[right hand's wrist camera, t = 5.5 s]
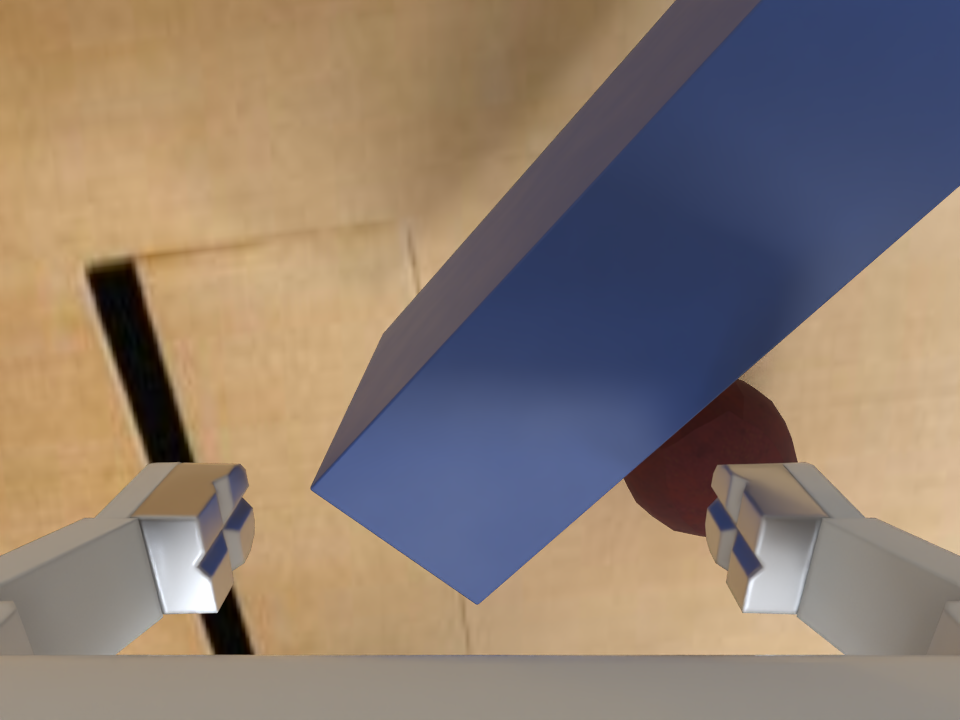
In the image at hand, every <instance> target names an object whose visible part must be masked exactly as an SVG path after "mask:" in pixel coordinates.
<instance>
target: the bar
mask: <svg viewBox="0 0 960 720" xmlns="http://www.w3.org/2000/svg"><path fill="white" fill-rule="evenodd" d="M959 186H960V0H676V1H675V2H674V3H673V4H672V5H671V7H670V8H669V9H668V10H667V11H666V12H665V13H664V14H663V16H662V17H661V18H660V19H659V20H658V21H657V22H656V24H655V25H654V26H653V27H652V28H651V29H650V30H649V32H648V33H647V34H646V35H645V36H644V37H643V38H642V40H641V41H640V42H639V43H638V44H637V45H636V46H635V48H634V49H633V50H632V51H631V52H630V53H629V54H628V56H627V57H626V58H625V59H624V60H623V61H622V62H621V63H620V65H619V66H618V67H617V68H616V69H615V70H614V71H613V73H612V74H611V75H610V76H609V77H608V78H607V79H606V81H605V82H604V83H603V84H602V85H601V86H600V87H599V89H598V90H597V91H596V92H595V93H594V94H593V95H592V97H591V98H590V99H589V100H588V101H587V102H586V103H585V104H584V106H583V107H582V108H581V109H580V110H579V111H578V112H577V114H576V115H575V116H574V117H573V118H572V119H571V120H570V122H569V123H568V124H567V125H566V126H565V127H564V128H563V130H562V131H561V132H560V133H559V134H558V135H557V136H556V138H555V139H554V140H553V141H552V142H551V143H550V144H549V145H548V147H547V148H546V149H545V150H544V151H543V152H542V153H541V155H540V156H539V157H538V158H537V159H536V160H535V161H534V163H533V164H532V165H531V166H530V167H529V168H528V169H527V171H526V172H525V173H524V174H523V175H522V176H521V177H520V179H519V180H518V181H517V182H516V183H515V184H514V185H513V186H512V188H511V189H510V190H509V191H508V192H507V193H506V194H505V196H504V197H503V198H502V199H501V200H500V201H499V202H498V204H497V205H496V206H495V207H494V208H493V209H492V210H491V212H490V213H489V214H488V215H487V216H486V217H485V218H484V220H483V221H482V222H481V223H480V224H479V225H478V226H477V227H476V229H475V230H474V231H473V232H472V233H471V234H470V235H469V237H468V238H467V239H466V240H465V241H464V242H463V243H462V245H461V246H460V247H459V248H458V249H457V250H456V251H455V253H454V254H453V255H452V256H451V257H450V258H449V259H448V261H447V262H446V263H445V264H444V265H443V266H442V267H441V269H440V270H439V271H438V272H437V273H436V274H435V275H434V276H433V278H432V279H431V280H430V281H429V282H428V283H427V284H426V286H425V287H424V288H423V289H422V290H421V291H420V292H419V294H418V295H417V296H416V297H415V298H414V299H413V300H412V302H411V303H410V304H409V305H408V306H407V307H406V308H405V310H404V311H403V312H402V313H401V314H400V315H399V316H398V317H397V319H396V320H395V321H394V322H393V323H392V324H391V325H390V327H389V328H388V329H387V330H386V331H385V332H384V333H383V335H382V337H381V339H380V341H379V344H378V346H377V348H376V350H375V352H374V354H373V356H372V358H371V360H370V363H369V365H368V367H367V369H366V371H365V373H364V375H363V377H362V379H361V382H360V384H359V386H358V388H357V390H356V392H355V394H354V396H353V399H352V401H351V403H350V405H349V407H348V409H347V411H346V413H345V415H344V418H343V420H342V422H341V424H340V426H339V428H338V430H337V432H336V434H335V437H334V439H333V441H332V443H331V445H330V447H329V449H328V451H327V454H326V456H325V458H324V460H323V462H322V464H321V466H320V468H319V470H318V473H317V475H316V477H315V479H314V481H313V483H312V485H311V488H310V489H311V490H312V491H313V492H315V493H316V494H317V495H319V496H320V497H322V498H323V499H325V500H326V501H328V502H329V503H330V504H332V505H333V506H335V507H336V508H338V509H339V510H341V511H342V512H343V513H345V514H346V515H348V516H349V517H351V518H352V519H354V520H355V521H356V522H358V523H359V524H361V525H362V526H364V527H365V528H367V529H368V530H369V531H371V532H372V533H374V534H375V535H377V536H378V537H380V538H381V539H383V540H384V541H385V542H387V543H388V544H390V545H391V546H393V547H394V548H396V549H397V550H398V551H400V552H401V553H403V554H404V555H406V556H407V557H409V558H410V559H411V560H413V561H414V562H416V563H417V564H419V565H420V566H422V567H423V568H424V569H426V570H427V571H429V572H430V573H432V574H433V575H435V576H436V577H437V578H439V579H440V580H442V581H443V582H445V583H446V584H448V585H449V586H450V587H452V588H453V589H455V590H456V591H458V592H459V593H461V594H462V595H463V596H465V597H466V598H468V599H469V600H471V601H472V602H474V603H475V604H477V605H478V604H479V603H480V602H482V601H483V600H484V599H485V598H486V597H487V596H489V595H490V594H491V593H492V592H493V591H494V590H495V589H497V588H498V587H499V586H500V585H501V584H502V583H503V582H505V581H506V580H507V579H508V578H509V577H510V576H512V575H513V574H514V573H515V572H516V571H517V570H518V569H520V568H521V567H522V566H523V565H524V564H525V563H526V562H528V561H529V560H530V559H531V558H532V557H533V556H535V555H536V554H537V553H538V552H539V551H540V550H541V549H543V548H544V547H545V546H546V545H547V544H548V543H549V542H551V541H552V540H553V539H554V538H555V537H556V536H558V535H559V534H560V533H561V532H562V531H563V530H564V529H566V528H567V527H568V526H569V525H570V524H571V523H572V522H574V521H575V520H576V519H577V518H578V517H579V516H581V515H582V514H583V513H584V512H585V511H586V510H587V509H589V508H590V507H591V506H592V505H593V504H594V503H595V502H597V501H598V500H599V499H600V498H601V497H602V496H604V495H605V494H606V493H607V492H608V491H609V490H610V489H612V488H613V487H614V486H615V485H616V484H617V483H618V482H620V481H621V480H622V479H623V478H624V477H625V476H626V475H628V474H629V473H630V472H631V471H632V470H633V469H635V468H636V467H637V466H638V465H639V464H640V463H641V462H643V461H644V460H645V459H646V458H647V457H648V456H649V455H651V454H652V453H653V452H654V451H655V450H656V449H658V448H659V447H660V446H661V445H662V444H663V443H664V442H666V441H667V440H668V439H669V438H670V437H671V436H672V435H674V434H675V433H676V432H677V431H678V430H679V429H681V428H682V427H683V426H684V425H685V424H686V423H687V422H689V421H690V420H691V419H692V418H693V417H694V416H695V415H697V414H698V413H699V412H700V411H701V410H702V409H704V408H705V407H706V406H707V405H708V404H709V403H710V402H712V401H713V400H714V399H715V398H716V397H717V396H718V395H720V394H721V393H722V392H723V391H724V390H725V389H727V388H728V387H729V386H730V385H731V384H732V383H733V382H735V381H736V380H737V379H738V378H739V377H740V376H741V375H743V374H744V373H745V372H746V371H747V370H748V369H750V368H751V367H752V366H753V365H754V364H755V363H756V362H758V361H759V360H760V359H761V358H762V357H763V356H764V355H766V354H767V353H768V352H769V351H770V350H771V349H773V348H774V347H775V346H776V345H777V344H778V343H779V342H781V341H782V340H783V339H784V338H785V337H786V336H787V335H789V334H790V333H791V332H792V331H793V330H794V329H795V328H797V327H798V326H799V325H800V324H801V323H802V322H804V321H805V320H806V319H807V318H808V317H809V316H810V315H812V314H813V313H814V312H815V311H816V310H817V309H818V308H820V307H821V306H822V305H823V304H824V303H825V302H827V301H828V300H829V299H830V298H831V297H832V296H833V295H835V294H836V293H837V292H838V291H839V290H840V289H841V288H843V287H844V286H845V285H846V284H847V283H848V282H850V281H851V280H852V279H853V278H854V277H855V276H856V275H858V274H859V273H860V272H861V271H862V270H863V269H864V268H866V267H867V266H868V265H869V264H870V263H871V262H873V261H874V260H875V259H876V258H877V257H878V256H879V255H881V254H882V253H883V252H884V251H885V250H886V249H887V248H889V247H890V246H891V245H892V244H893V243H894V242H896V241H897V240H898V239H899V238H900V237H901V236H902V235H904V234H905V233H906V232H907V231H908V230H909V229H910V228H912V227H913V226H914V225H915V224H916V223H917V222H919V221H920V220H921V219H922V218H923V217H924V216H925V215H927V214H928V213H929V212H930V211H931V210H932V209H933V208H935V207H936V206H937V205H938V204H939V203H940V202H942V201H943V200H944V199H945V198H946V197H947V196H948V195H950V194H951V193H952V192H953V191H954V190H955V189H956V188H958V187H959Z"/></svg>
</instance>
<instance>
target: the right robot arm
mask: <svg viewBox="0 0 960 720" xmlns="http://www.w3.org/2000/svg"><path fill="white" fill-rule="evenodd" d="M248 487H249V484H248V479H247V475H246V470H245V468H244V467H243V466H242V465H241V464H218V463H180V462H174V463H152V464H147V465H146V467H145V468H144V469H143V470H142V471H141V472H140V473H139V474H138V475H137V476H136V477H135V478H134V479H133V480H132V481H131V482H130V483H129V484H128V485H127V486H126V487H125V488H124V489H123V490H122V491H121V492H120V493H119V494H118V495H117V496H116V497H115V498H114V499H113V500H112V501H111V502H110V503H109V504H108V505H107V506H106V507H105V508H104V509H103V510H102V511H101V512H100V513H99V514H98V515H97V516H96V517H95V518H84V519H81V520H79V521H77V522H75V523H72V524H70V525H68V526H66V527H64V528H61V529H59V530H57V531H55V532H52V533H50V534H48V535H46V536H44V537H41V538H39V539H37V540H35V541H32V542H30V543H28V544H26V545H23V546H21V547H19V548H17V549H15V550H12V551H10V552H8V553H6V554H3V555H1V556H0V720H960V556H959V555H956V554H954V553H952V552H950V551H948V550H945V549H943V548H941V547H939V546H936V545H934V544H932V543H930V542H928V541H925V540H923V539H921V538H919V537H916V536H914V535H912V534H910V533H907V532H905V531H903V530H901V529H899V528H896V527H894V526H892V525H890V524H887V523H885V522H883V521H881V520H879V519H876V518H865V517H864V516H863V515H862V514H861V513H860V512H859V511H858V510H857V509H856V508H855V507H854V506H853V505H852V504H851V503H850V502H849V501H848V500H847V499H846V498H845V497H844V496H843V495H842V494H841V493H840V492H839V491H838V490H837V489H836V488H835V487H834V486H833V485H832V484H831V483H830V481H829V480H828V479H827V478H826V477H825V476H824V475H823V474H822V473H821V472H820V471H819V470H818V469H817V468H816V467H815V466H814V465H812V464H809V463H806V462H797V463H770V464H730V465H717V467H716V469H715V471H714V473H713V478H712V484H711V487H712V488H713V490H714V491H715V493H716V495H717V496H718V498H717V499H716V500H715V501H714V502H713V503H712V504H711V505H710V506H709V507H708V508H707V514H706V522H705V528H706V540H707V544H708V547H709V550H710V553H711V555H712V557H713V559H714V561H715V563H716V564H718V565H719V566H721V567H722V568H724V569H726V570H727V571H728V574H727V579H726V583H727V585H728V587H729V589H730V591H731V592H732V594H733V596H734V598H735V600H736V602H737V603H738V605H739V607H740V609H741V611H742V612H743V613H767V614H797V617H798V618H799V619H800V620H801V621H803V622H804V623H805V624H807V625H808V626H809V627H810V628H812V629H813V630H814V631H815V632H817V633H818V634H819V635H820V636H822V637H823V638H824V639H826V640H827V641H828V642H829V643H831V644H832V645H833V646H834V647H836V648H837V649H838V650H839V651H841V652H842V653H843V654H845V655H116V654H117V653H118V652H119V651H121V650H122V649H123V648H125V647H126V646H127V645H128V644H130V643H131V642H132V641H133V640H135V639H136V638H137V637H138V636H140V635H141V634H142V633H144V632H145V631H146V630H147V629H149V628H150V627H151V626H152V625H154V624H155V623H156V622H157V621H159V620H160V619H161V618H163V614H191V613H218V611H219V609H220V607H221V605H222V603H223V602H224V600H225V598H226V596H227V594H228V592H229V591H230V589H231V587H232V585H233V583H234V579H233V574H232V571H233V570H235V569H236V568H238V567H239V566H241V565H242V564H244V563H245V561H246V559H247V557H248V555H249V553H250V551H251V547H252V542H253V538H254V526H255V520H254V513H253V508H252V507H251V506H250V505H249V504H248V503H247V502H246V501H245V500H244V499H243V498H242V496H243V495H244V493H245V491H246V490H247V488H248Z"/></svg>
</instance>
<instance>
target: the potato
mask: <svg viewBox="0 0 960 720" xmlns="http://www.w3.org/2000/svg"><path fill="white" fill-rule="evenodd" d="M770 463H797V458H796V454H795V450H794V446H793V442H792V438H791V435H790V433H789V430H788V428H787V425H786V423H785V421H784V419H783V418H782V416H781V415H780V413H779V412H778V410H777V409H776V407H775V406H774V404H773V402H772V401H771V400H769V399H768V398H767V397H765V396H764V395H763V394H762V393H760V392H759V391H758V390H756V389H755V388H753V387H752V386H750V385H749V384H747V383H746V382H744V381H742V380H739V379H737V380H736V381H735V382H733V383H732V384H731V385H730V386H729V387H728V388H727V389H725V390H724V391H723V392H722V393H721V394H720V395H718V396H717V397H716V398H715V399H714V400H713V401H712V402H710V403H709V404H708V405H707V406H706V407H705V408H704V409H702V410H701V411H700V412H699V413H698V414H697V415H695V416H694V417H693V418H692V419H691V420H690V421H689V422H687V423H686V424H685V425H684V426H683V427H682V428H681V429H679V430H678V431H677V432H676V433H675V434H674V435H672V436H671V437H670V438H669V439H668V440H667V441H666V442H664V443H663V444H662V445H661V446H660V447H659V448H658V449H656V450H655V451H654V452H653V453H652V454H651V455H649V456H648V457H647V458H646V459H645V460H644V461H643V462H641V463H640V464H639V465H638V466H637V467H636V468H635V469H633V470H632V471H631V472H630V473H629V474H628V475H626V476H625V477H624V480H625V482H626V484H627V486H628V488H629V490H630V492H631V493H632V495H633V497H634V499H635V501H636V502H637V503H638V504H639V505H640V506H641V507H642V508H643V509H645V510H646V511H647V512H648V513H649V514H650V515H652V516H653V517H654V518H656V519H657V520H659V521H660V522H662V523H663V524H665V525H666V526H668V527H669V528H671V529H672V530H674V531H679V532H683V533H688V534H693V535H698V536H704V537H706V528H705V522H706V514H707V508H708V507H709V506H710V505H711V504H712V503H713V502H714V501H715V500H716V499H717V498H718V496H717V495H716V493H715V491H714V490H713V488H712V487H711V484H712V478H713V473H714V471H715V469H716V467H717V465H730V464H770Z"/></svg>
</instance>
